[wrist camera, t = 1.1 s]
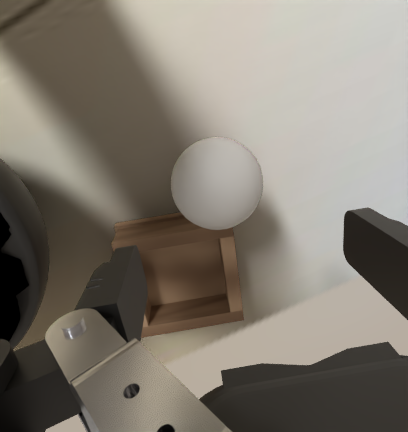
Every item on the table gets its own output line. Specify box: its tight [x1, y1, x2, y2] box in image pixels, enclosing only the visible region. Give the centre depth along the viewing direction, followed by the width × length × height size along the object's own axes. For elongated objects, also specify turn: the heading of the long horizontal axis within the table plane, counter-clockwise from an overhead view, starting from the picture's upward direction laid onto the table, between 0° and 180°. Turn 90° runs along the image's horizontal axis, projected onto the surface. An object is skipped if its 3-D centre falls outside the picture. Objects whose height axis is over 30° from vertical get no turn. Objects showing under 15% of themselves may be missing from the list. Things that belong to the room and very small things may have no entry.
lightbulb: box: [171, 137, 263, 230], centre depth 22 cm, size 6×6×11 cm
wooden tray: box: [111, 212, 244, 338], centre depth 29 cm, size 11×11×4 cm
